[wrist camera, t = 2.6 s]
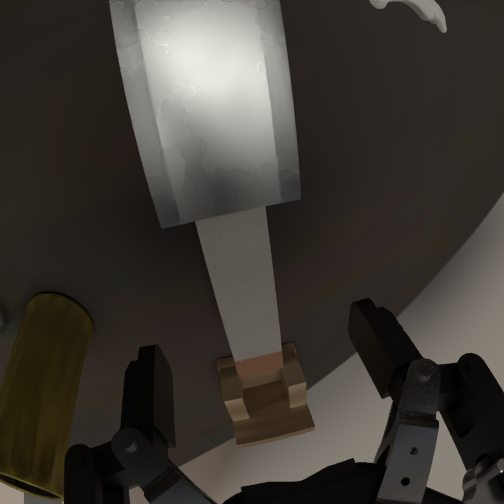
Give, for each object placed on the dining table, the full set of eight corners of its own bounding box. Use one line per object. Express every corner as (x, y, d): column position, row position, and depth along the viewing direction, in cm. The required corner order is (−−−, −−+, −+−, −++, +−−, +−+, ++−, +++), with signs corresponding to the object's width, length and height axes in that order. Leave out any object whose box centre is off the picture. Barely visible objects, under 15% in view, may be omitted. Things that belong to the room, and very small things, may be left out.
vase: (103, 311, 21) (79, 497, 9) (84, 353, 23) (67, 507, 12) (33, 279, 18) (-31, 455, 7) (24, 327, 20) (-16, 476, 9)
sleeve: (134, -4, 11) (104, -46, 5) (236, -23, 11) (265, -72, 6) (170, 173, 17) (161, 229, 11) (262, 153, 17) (301, 199, 12)
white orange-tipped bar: (157, 3, 10) (147, -19, 7) (219, -8, 11) (229, -33, 7) (231, 335, 23) (240, 378, 19) (270, 326, 23) (283, 367, 20)
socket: (216, 359, 26) (227, 428, 20) (292, 341, 27) (316, 406, 21) (227, 388, 29) (238, 448, 23) (294, 372, 30) (314, 430, 24)
